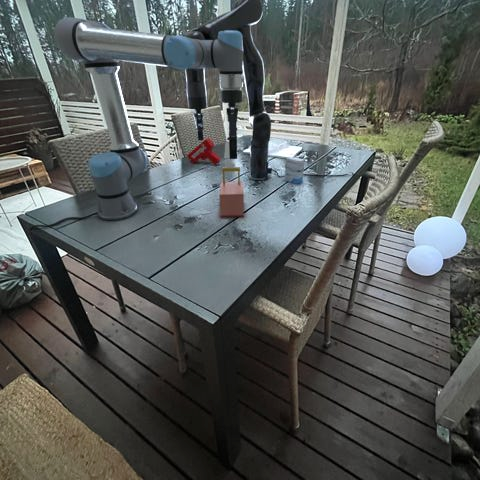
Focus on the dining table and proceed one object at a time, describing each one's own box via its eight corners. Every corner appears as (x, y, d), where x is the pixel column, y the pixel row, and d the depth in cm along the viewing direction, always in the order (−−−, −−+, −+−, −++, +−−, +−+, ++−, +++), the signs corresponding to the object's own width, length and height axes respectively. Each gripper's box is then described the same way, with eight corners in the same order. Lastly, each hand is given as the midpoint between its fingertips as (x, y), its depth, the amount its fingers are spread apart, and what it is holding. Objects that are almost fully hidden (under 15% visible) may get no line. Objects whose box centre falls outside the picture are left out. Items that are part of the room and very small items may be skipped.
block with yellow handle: (220, 184, 116) (219, 164, 112) (242, 183, 116) (242, 164, 112) (219, 196, 105) (218, 175, 100) (243, 196, 105) (243, 175, 100)
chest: (221, 203, 121) (220, 184, 116) (242, 203, 121) (242, 184, 116) (220, 217, 110) (219, 197, 105) (243, 217, 110) (243, 196, 105)
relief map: (291, 159, 177) (291, 151, 174) (243, 153, 190) (243, 145, 187) (302, 149, 197) (303, 142, 194) (258, 144, 211) (258, 137, 208)
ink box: (302, 181, 142) (305, 159, 136) (297, 184, 139) (300, 161, 133) (289, 177, 147) (291, 156, 141) (284, 180, 144) (285, 158, 138)
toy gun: (223, 158, 167) (209, 137, 163) (221, 160, 164) (206, 138, 160) (204, 173, 177) (189, 154, 173) (201, 175, 174) (186, 155, 170)
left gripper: (244, 92, 80) (244, 163, 92) (241, 86, 101) (241, 145, 113) (219, 92, 80) (222, 163, 91) (221, 86, 101) (223, 145, 112)
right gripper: (187, 93, 113) (191, 134, 121) (187, 97, 101) (191, 142, 110) (205, 93, 114) (207, 134, 122) (207, 96, 102) (210, 141, 111)
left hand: (233, 153), depth 102 cm, fingers open, 13 cm apart
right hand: (200, 138), depth 116 cm, fingers open, 8 cm apart
